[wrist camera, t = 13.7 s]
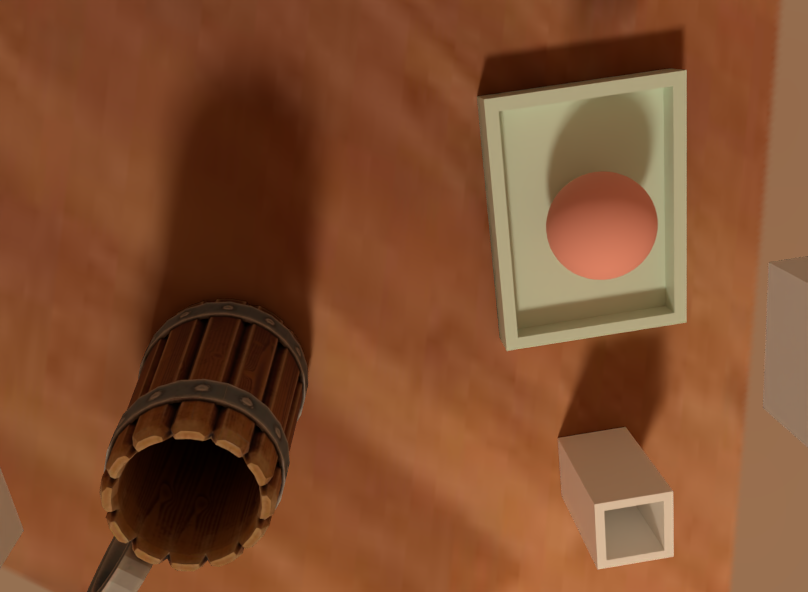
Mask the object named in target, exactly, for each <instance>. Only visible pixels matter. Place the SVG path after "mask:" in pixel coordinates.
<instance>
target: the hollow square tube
mask: <svg viewBox="0 0 808 592" xmlns="http://www.w3.org/2000/svg"><path fill="white" fill-rule="evenodd" d="M558 449H559V463H560V478H561V492H562V498H563V500H564V502H565V504H566V506H567V508H568V510H569V512H570V514H571V516H572V518H573V520H574V522H575V524H576V526H577V528H578V530H579V532H580V534H581V536H582V539H583V541H584V543H585V545H586V547H587V549H588V551H589V553H590V555H591V557H592V559H593V561H594V563H595V565H596V567H597V569H604V568H609V567H615V566H621V565H627V564H633V563H639V562H644V561H650V560H656V559H662V558H668V557H674V534H673V490H672V489H671V488H670V486H669V485H668V484H667V482H666V481H665V479H664V478H663V477H662V475H661V474H660V473H659V471H658V470H657V469H656V467H655V466H654V465H653V463H652V462H651V460H650V459H649V458H648V456H647V455H646V454H645V452H644V451H643V450H642V448H641V447H640V446H639V444H638V443H637V442H636V440H635V439H634V437H633V436H632V435H631V433H630V432H629V431H628V429H627V428H626V427H622V428H616V429H609V430H603V431H597V432H591V433H585V434H579V435H573V436H567V437H560V438H558Z"/></svg>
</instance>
